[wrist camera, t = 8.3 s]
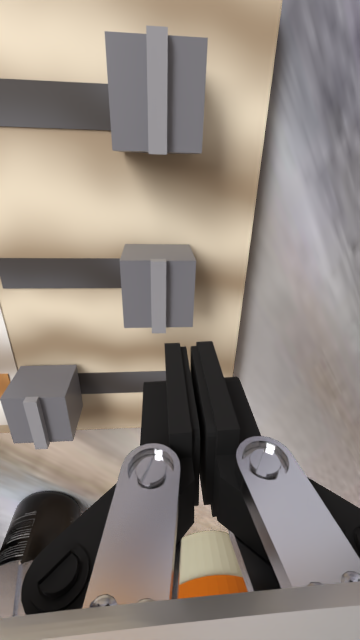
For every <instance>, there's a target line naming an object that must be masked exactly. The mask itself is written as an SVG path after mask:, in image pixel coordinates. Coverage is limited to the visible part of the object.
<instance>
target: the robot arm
mask: <svg viewBox="0 0 360 640" xmlns="http://www.w3.org/2000/svg"><path fill="white" fill-rule="evenodd" d="M164 345H165V367H166V381H153V382H144V384H143V402H142V421H141V440H140V446H139V447H137V448H136V449H134V450H132V451H131V452H130V453H129V454H128V455H127V457H126V458H125V460H124V462H123V464H122V467H121V470H120V474H119V477H118V481H117V483H116V484H115V485H114V486H113V487H112V488H111V489H110V490H109V491H108V492H106V493H105V494H104V495H103V496H102V497H101V498H100V499H99V500H98V501H96V502H95V503H94V504H93V505H92V506H91V507H90V508H89V509H88V510H86V511H85V512H84V513H83V514H82V515H81V516H80V517H79V518H78V519H76V520H75V521H74V522H73V523H72V524H71V525H70V526H69V527H68V528H66V529H65V530H64V531H63V532H62V533H61V534H60V535H59V536H58V537H56V538H55V539H54V540H53V541H52V542H51V543H50V544H49V545H48V546H46V547H45V548H44V549H43V550H42V551H41V552H40V553H39V554H38V556H37V557H36V558H35V559H34V560H31V561H28V562H25V563H22V564H21V563H20V561H19V560H17V561H14V562H11V563H8V564H5V565H2V566H0V640H360V508H358V507H357V506H355V505H353V504H351V503H350V502H348V501H346V500H345V499H343V498H341V497H340V496H338V495H336V494H335V493H333V492H331V491H330V490H328V489H326V488H325V487H323V486H321V485H320V484H318V483H316V482H314V481H313V480H311V479H309V478H308V477H307V476H306V475H305V473H304V472H303V470H302V469H301V467H300V466H299V464H298V462H297V461H296V459H295V458H294V456H293V455H292V453H291V452H290V451H289V450H288V448H287V447H286V446H284V445H283V444H282V443H280V442H279V441H277V440H274V439H272V438H270V437H264V436H261V435H260V432H259V429H258V427H257V424H256V421H255V419H254V416H253V414H252V411H251V408H250V406H249V403H248V401H247V398H246V395H245V393H244V390H243V388H242V385H241V382H240V380H239V378H238V377H224V376H223V373H222V370H221V367H220V364H219V360H218V357H217V354H216V351H215V348H214V345H213V342H212V341H202V342H196V346H191V359H190V366H189V360H188V354H187V348H186V346H184V347H180V343H164ZM199 474H200V481H201V488H202V495H203V502H204V505H210V504H211V510H212V517H216V516H217V521H219V522H220V523H221V524H222V525H223V526H225V527H226V528H227V529H228V531H229V536H230V540H231V543H232V546H233V549H234V552H235V555H236V558H237V561H238V564H239V567H240V570H241V573H242V576H243V579H244V582H245V585H246V588H247V591H248V592H243V593H232V594H222V595H212V596H202V597H192V598H181V599H178V595H179V579H180V564H181V549H182V537H183V536H184V535H185V533H186V532H187V531H188V530H189V528H190V527H191V526H192V525H193V523H194V506H198V505H199Z"/></svg>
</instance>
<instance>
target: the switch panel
mask: <svg viewBox="0 0 360 640" xmlns="http://www.w3.org/2000/svg"><path fill="white" fill-rule="evenodd" d="M281 7H282V0H0V398H1V396H2V395H3V393H4V392H5V390H6V388H7V387H8V385H9V384H10V382H11V381H12V379H13V377H14V376H15V374H16V373H17V371H18V370H19V368H20V366H43V365H77V370H78V376H79V383H80V389H81V395H82V402H83V408H82V411H81V415H80V418H79V422H78V425H77V429H76V430H88V429H113V428H137V427H141V421H142V402H143V384H144V382H153V381H166V367H165V345H164V343H180V347H184V346H186V348H187V354H188V360H189V366H190V359H191V346H196V342H202V341H212V342H213V345H214V348H215V351H216V354H217V357H218V360H219V364H220V367H221V370H222V373H223V376H224V377H233V370H234V362H235V355H236V347H237V340H238V332H239V325H240V317H241V309H242V302H243V294H244V287H245V279H246V272H247V264H248V257H249V249H250V241H251V234H252V226H253V219H254V211H255V204H256V196H257V189H258V181H259V173H260V166H261V158H262V151H263V143H264V136H265V128H266V120H267V113H268V105H269V98H270V90H271V83H272V75H273V68H274V60H275V52H276V45H277V37H278V30H279V22H280V15H281ZM146 25H147V26H162V27H168V35H173V36H189V37H205V38H208V46H207V65H206V84H205V103H204V122H203V141H202V153H200V154H170V153H167V155H159V154H149V153H138V152H118V151H113V150H112V138H111V122H110V107H109V92H108V77H107V61H106V46H105V31H109V32H125V33H141V34H146ZM125 244H189V245H190V247H191V250H192V252H193V254H194V257H195V259H196V274H195V293H194V312H193V327H166V333H152V328H124V320H123V305H122V290H121V274H120V258H121V255H122V252H123V249H124V246H125ZM0 433H10V429H9V426H8V423H7V420H6V417H5V414H4V411H3V408H2V404H1V401H0Z"/></svg>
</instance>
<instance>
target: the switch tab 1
mask: <svg viewBox="0 0 360 640" xmlns="http://www.w3.org/2000/svg"><path fill="white" fill-rule="evenodd" d="M0 401H1V404H2V408H3V411H4V414H5V417H6V420H7V423H8V426H9V429H10V433H11V436H12V439H13V442H14V443H32V442H34V445H35V449H48V447H49V444H50V442H56V441H73V439H74V436H75V432H76V429H77V425H78V422H79V418H80V415H81V411H82V408H83V402H82V395H81V389H80V383H79V376H78V370H77V365H43V366H20V368H19V370H18V371H17V373H16V374H15V376H14V377H13V379H12V381H11V382H10V384H9V385H8V387H7V388H6V390H5V392H4V393H3V395H2V396H1V398H0Z"/></svg>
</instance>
